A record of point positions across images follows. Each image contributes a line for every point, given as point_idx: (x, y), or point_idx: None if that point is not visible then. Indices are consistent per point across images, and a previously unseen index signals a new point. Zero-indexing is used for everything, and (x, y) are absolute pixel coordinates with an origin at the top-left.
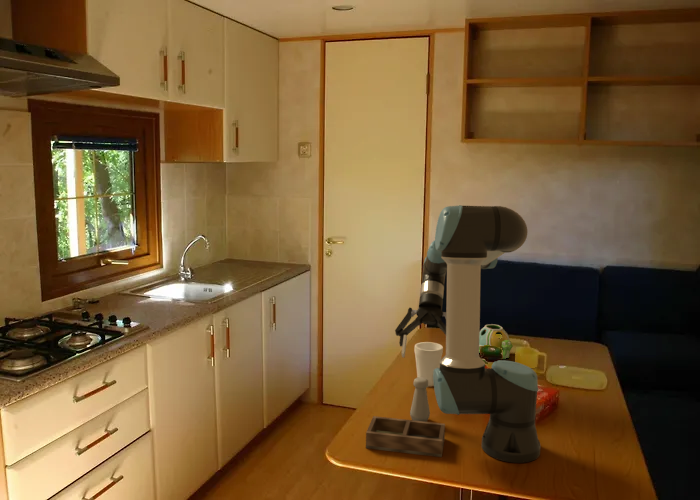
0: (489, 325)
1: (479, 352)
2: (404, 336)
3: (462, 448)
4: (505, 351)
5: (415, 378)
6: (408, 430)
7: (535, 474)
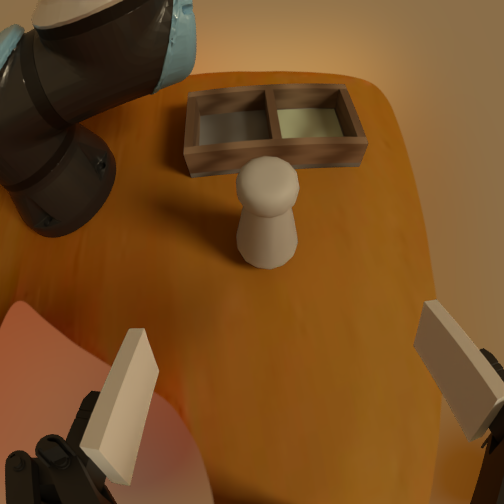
0: None
1: None
2: (498, 384)
3: (153, 155)
4: None
5: (293, 178)
6: (269, 124)
7: None
